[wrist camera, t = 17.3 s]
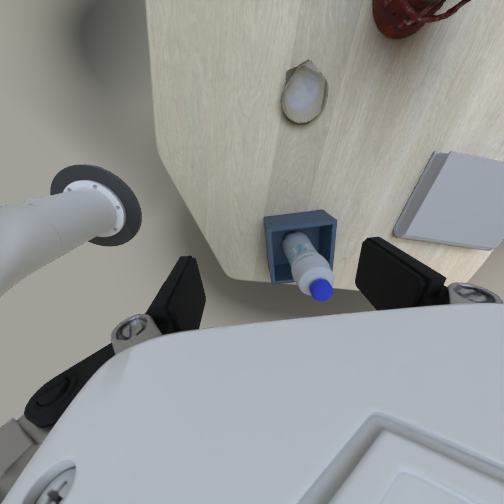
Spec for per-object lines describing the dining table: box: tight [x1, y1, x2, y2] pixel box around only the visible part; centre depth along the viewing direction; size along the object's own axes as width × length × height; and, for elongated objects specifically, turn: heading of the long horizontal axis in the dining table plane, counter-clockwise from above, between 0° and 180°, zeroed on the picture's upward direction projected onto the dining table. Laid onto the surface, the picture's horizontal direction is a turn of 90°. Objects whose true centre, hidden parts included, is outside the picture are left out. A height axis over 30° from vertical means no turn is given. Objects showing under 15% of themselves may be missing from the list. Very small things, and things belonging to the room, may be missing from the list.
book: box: [394, 151, 504, 251], centre depth 43 cm, size 18×4×24 cm
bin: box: [264, 210, 337, 284], centre depth 44 cm, size 14×14×8 cm
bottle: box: [282, 231, 334, 301], centre depth 38 cm, size 7×7×20 cm
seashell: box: [281, 60, 328, 124], centre depth 33 cm, size 8×3×8 cm
